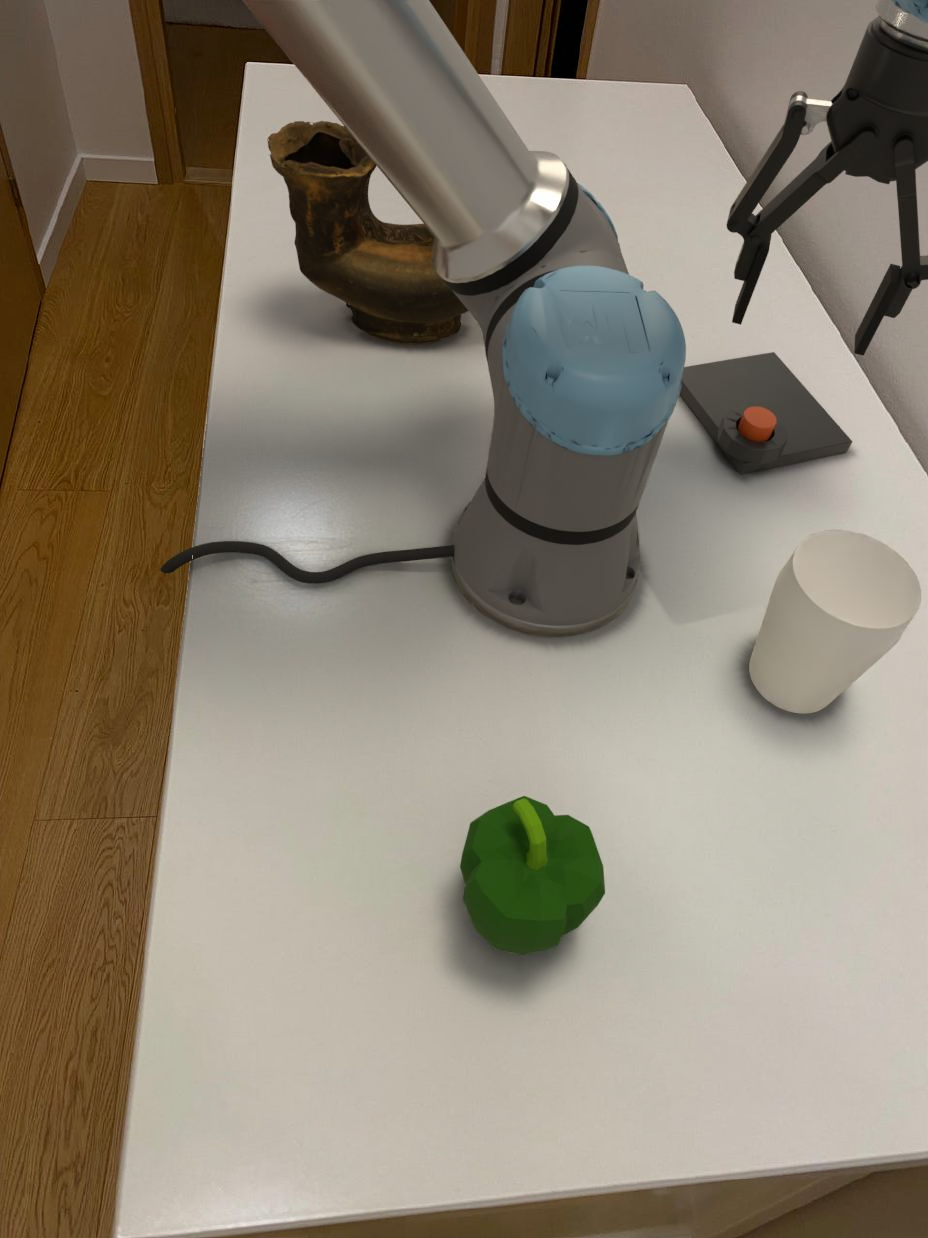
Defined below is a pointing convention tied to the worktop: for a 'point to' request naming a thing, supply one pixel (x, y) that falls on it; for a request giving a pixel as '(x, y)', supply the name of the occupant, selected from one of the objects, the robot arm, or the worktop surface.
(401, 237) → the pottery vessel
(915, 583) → the cup
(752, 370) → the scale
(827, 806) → the worktop surface
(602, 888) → the bell pepper
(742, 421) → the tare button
